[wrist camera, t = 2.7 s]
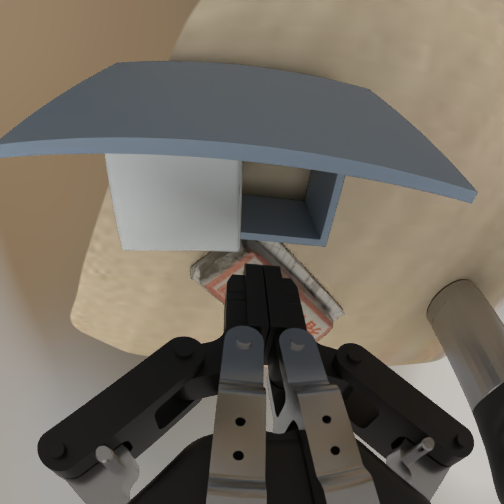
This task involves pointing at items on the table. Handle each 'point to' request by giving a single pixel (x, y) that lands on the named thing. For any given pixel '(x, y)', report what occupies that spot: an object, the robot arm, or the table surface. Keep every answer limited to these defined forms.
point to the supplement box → (176, 202)
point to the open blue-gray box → (294, 213)
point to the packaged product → (274, 253)
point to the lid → (238, 123)
